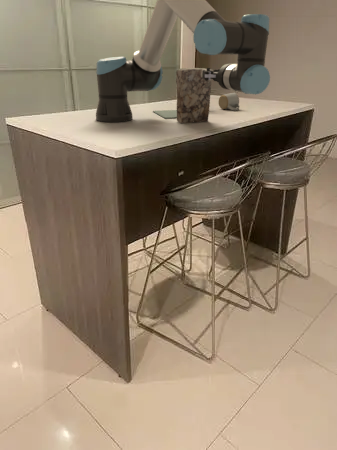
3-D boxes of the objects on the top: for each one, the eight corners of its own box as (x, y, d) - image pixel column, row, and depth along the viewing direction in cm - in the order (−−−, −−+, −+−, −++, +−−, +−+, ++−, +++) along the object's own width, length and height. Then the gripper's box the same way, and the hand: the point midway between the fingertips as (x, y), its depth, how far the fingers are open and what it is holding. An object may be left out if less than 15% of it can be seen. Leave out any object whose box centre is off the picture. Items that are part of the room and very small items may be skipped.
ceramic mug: (216, 108, 174) (218, 92, 170) (228, 107, 178) (230, 91, 174) (231, 111, 166) (232, 95, 163) (243, 110, 170) (245, 94, 167)
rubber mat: (165, 118, 145) (165, 117, 144) (152, 111, 162) (152, 110, 161) (204, 117, 150) (204, 116, 149) (188, 110, 167) (188, 109, 166)
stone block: (183, 124, 134) (185, 68, 125) (174, 121, 139) (175, 67, 130) (210, 121, 140) (214, 68, 131) (200, 119, 145) (203, 67, 136)
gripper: (213, 90, 105) (186, 84, 125) (250, 89, 108) (218, 83, 128) (214, 63, 101) (187, 61, 121) (253, 63, 105) (220, 61, 125)
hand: (203, 73), depth 125 cm, fingers closed
